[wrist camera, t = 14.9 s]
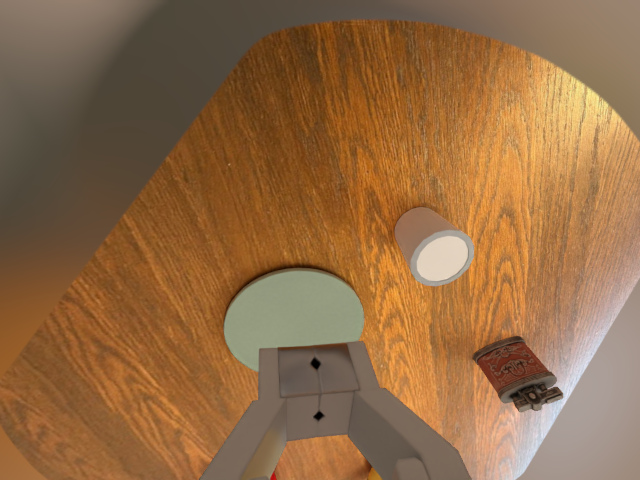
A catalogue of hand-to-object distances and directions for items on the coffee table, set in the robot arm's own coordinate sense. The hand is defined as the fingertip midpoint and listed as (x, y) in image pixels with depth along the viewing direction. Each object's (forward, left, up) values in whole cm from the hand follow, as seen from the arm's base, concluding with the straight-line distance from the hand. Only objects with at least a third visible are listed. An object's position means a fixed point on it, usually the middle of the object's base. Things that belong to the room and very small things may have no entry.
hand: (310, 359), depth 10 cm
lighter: (+32, +34, -28) cm, 55 cm away
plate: (+24, +2, -28) cm, 37 cm away
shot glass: (+10, +17, -28) cm, 34 cm away
